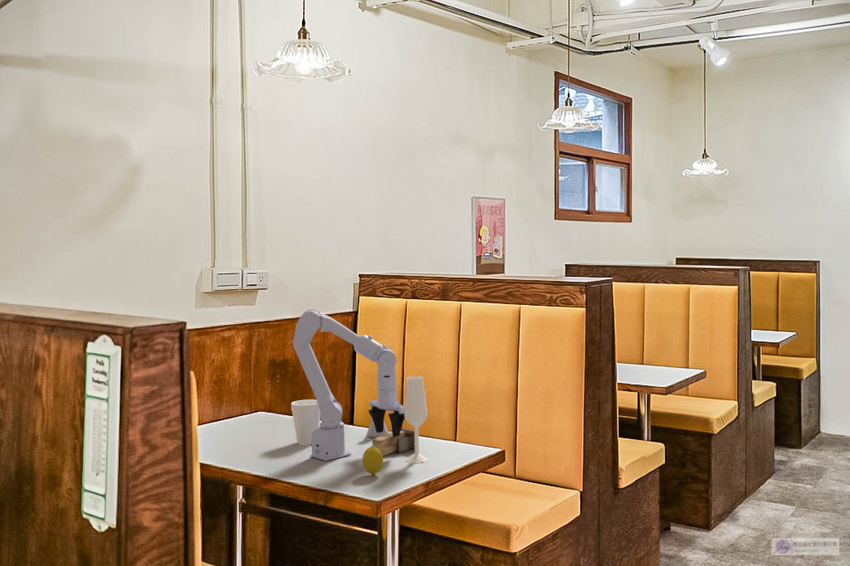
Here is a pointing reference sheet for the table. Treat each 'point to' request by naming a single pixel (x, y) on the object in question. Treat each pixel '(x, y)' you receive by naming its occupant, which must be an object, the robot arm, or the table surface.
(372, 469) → the lemon
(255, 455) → the table surface
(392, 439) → the wooden block
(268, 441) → the table surface
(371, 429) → the flask
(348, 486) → the table surface
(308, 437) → the foam cup
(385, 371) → the robot arm
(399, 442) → the bracket
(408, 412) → the champagne flute
